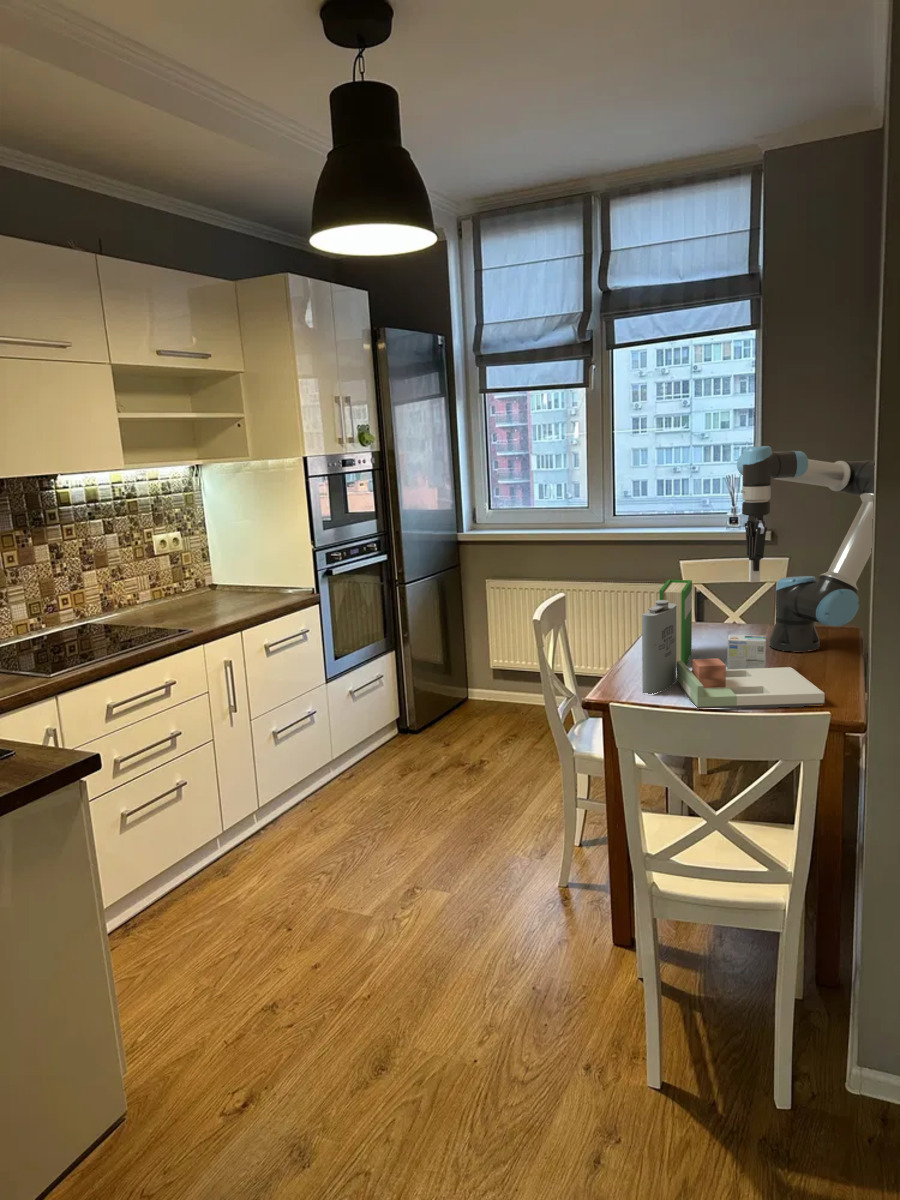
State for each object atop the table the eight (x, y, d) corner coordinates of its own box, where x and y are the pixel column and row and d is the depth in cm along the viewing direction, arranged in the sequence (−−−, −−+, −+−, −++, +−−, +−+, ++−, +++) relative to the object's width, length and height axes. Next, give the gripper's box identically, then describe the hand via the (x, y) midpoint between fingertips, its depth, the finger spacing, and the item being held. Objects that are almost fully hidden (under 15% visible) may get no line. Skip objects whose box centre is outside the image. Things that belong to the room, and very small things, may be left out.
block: (717, 679, 224) (718, 658, 223) (725, 687, 217) (725, 665, 216) (692, 680, 225) (692, 659, 223) (699, 688, 218) (699, 666, 217)
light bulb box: (765, 670, 242) (766, 634, 240) (766, 676, 236) (767, 640, 234) (727, 668, 246) (727, 633, 244) (727, 674, 240) (727, 639, 238)
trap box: (790, 679, 233) (791, 657, 231) (824, 706, 209) (825, 682, 208) (676, 682, 235) (676, 661, 233) (697, 710, 211) (697, 686, 210)
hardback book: (684, 668, 248) (684, 590, 244) (659, 666, 251) (659, 590, 247) (691, 653, 264) (692, 580, 260) (668, 652, 267) (668, 579, 262)
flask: (656, 696, 224) (656, 607, 219) (640, 693, 227) (640, 605, 222) (680, 679, 237) (681, 595, 232) (665, 677, 240) (665, 594, 235)
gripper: (736, 499, 242) (734, 578, 246) (749, 503, 229) (748, 586, 233) (762, 498, 241) (760, 577, 246) (777, 502, 228) (774, 585, 233)
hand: (754, 581), depth 240 cm, fingers closed
